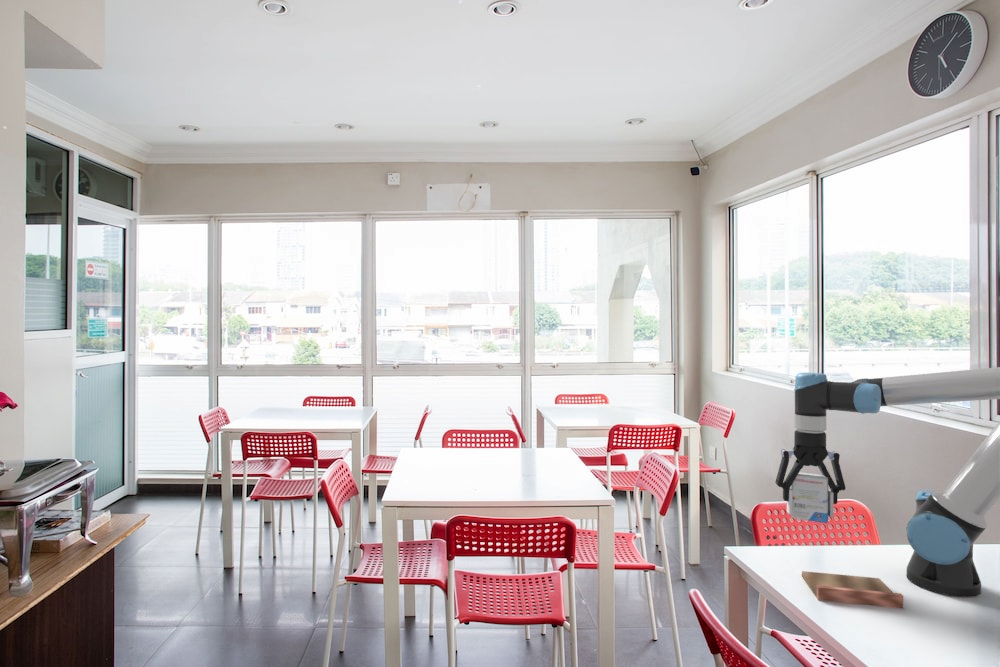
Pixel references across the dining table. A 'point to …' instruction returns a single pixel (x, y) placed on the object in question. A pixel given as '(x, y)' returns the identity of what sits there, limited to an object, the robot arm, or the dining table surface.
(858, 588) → the shelf board
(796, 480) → the ink box
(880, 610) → the dining table surface
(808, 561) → the dining table surface
